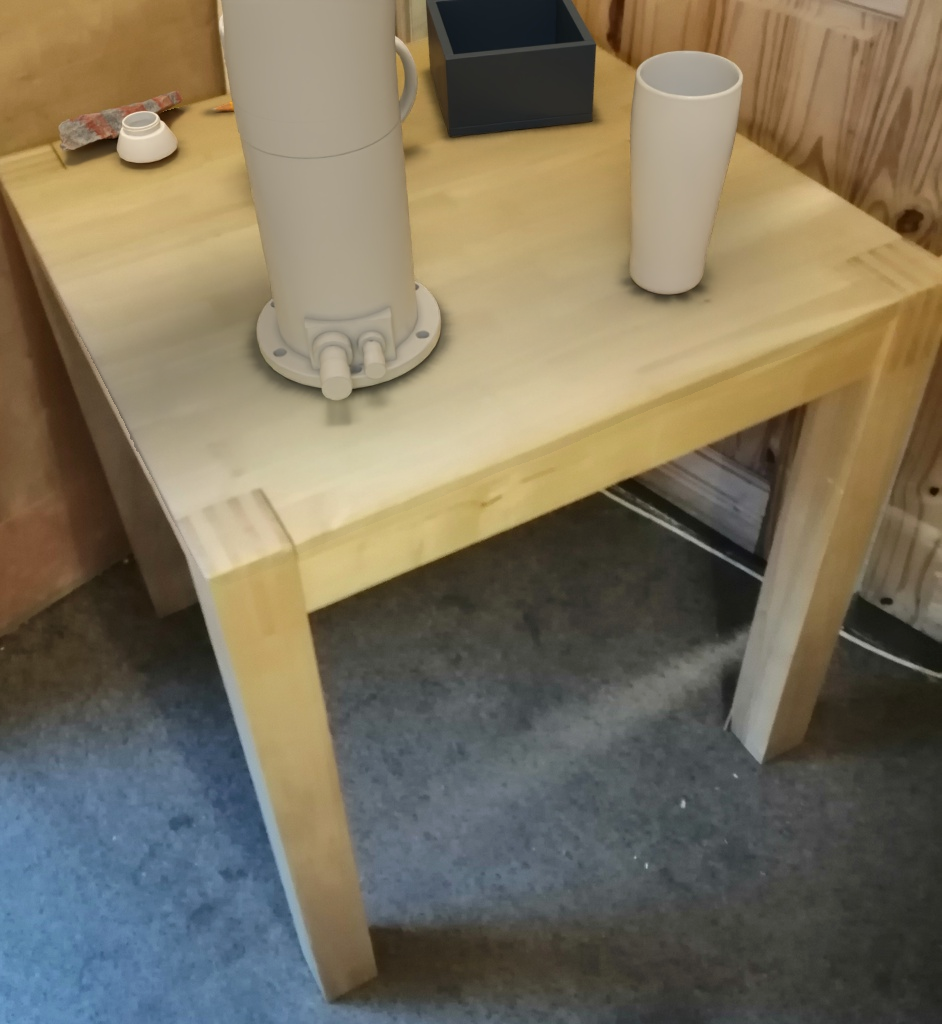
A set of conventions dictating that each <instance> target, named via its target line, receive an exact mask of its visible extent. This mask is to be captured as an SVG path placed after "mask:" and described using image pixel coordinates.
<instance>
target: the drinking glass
mask: <svg viewBox="0 0 942 1024" xmlns="http://www.w3.org/2000/svg"><path fill="white" fill-rule="evenodd" d="M743 83H744V74H743V71H742V69H741V68H740V67H739V66H738V65H737V64H736V63H735V62H733V61H732V60H730V59H728V58H726V57H724V56H721V55H718V54H715V53H710V52H706V51H699V50H675V51H673V50H672V51H668V52H663V53H658V54H656V55H653V56H651V57H648V58H647V59H645V60H643V62H641V63H640V64H639V65H638V67H637V68H636V71H635V78H634V85H633V93H632V99H631V100H632V101H631V110H630V122H629V123H630V125H629V186H630V187H629V198H630V199H629V202H630V204H629V205H630V206H629V207H630V208H629V209H630V211H629V212H630V229H629V230H630V232H629V233H630V235H629V238H630V245H629V246H630V247H629V248H630V249H629V257H628V258H629V259H628V271H629V276H630V277H631V279H632V281H633V282H634V283H635V284H636V285H637V286H639V287H640V288H641V289H643V290H645V291H646V292H647V291H648V292H651V293H652V294H658V295H669V296H670V295H679V294H682V293H686V292H688V291H690V290H692V289H694V288H695V287H696V286H698V284H700V282H701V281H702V279H703V278H704V277H703V276H704V273H705V269H706V264H707V263H706V262H707V256H708V252H709V251H708V250H709V247H710V242H711V238H712V233H713V229H714V225H715V221H716V218H717V213H718V209H719V205H720V202H721V197H722V193H723V189H724V185H725V181H726V177H727V173H728V169H729V166H730V162H731V158H732V155H733V154H732V153H733V150H734V145H735V140H736V136H737V130H738V124H739V119H740V113H741V112H740V111H741V103H742V95H743V85H744V84H743Z"/></svg>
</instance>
